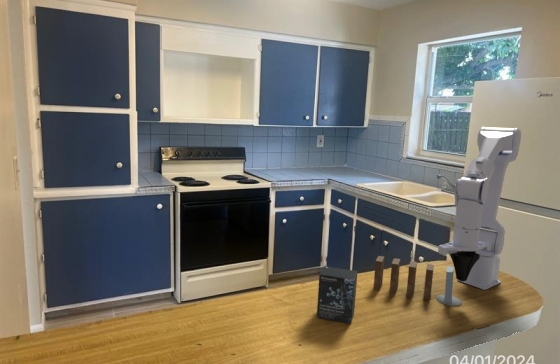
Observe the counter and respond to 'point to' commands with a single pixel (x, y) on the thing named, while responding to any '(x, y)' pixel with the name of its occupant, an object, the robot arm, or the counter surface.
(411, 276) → the domino
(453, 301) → the disc
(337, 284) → the box
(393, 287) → the domino
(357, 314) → the counter surface
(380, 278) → the domino
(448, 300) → the domino head
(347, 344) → the counter surface
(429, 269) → the domino
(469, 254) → the robot arm
